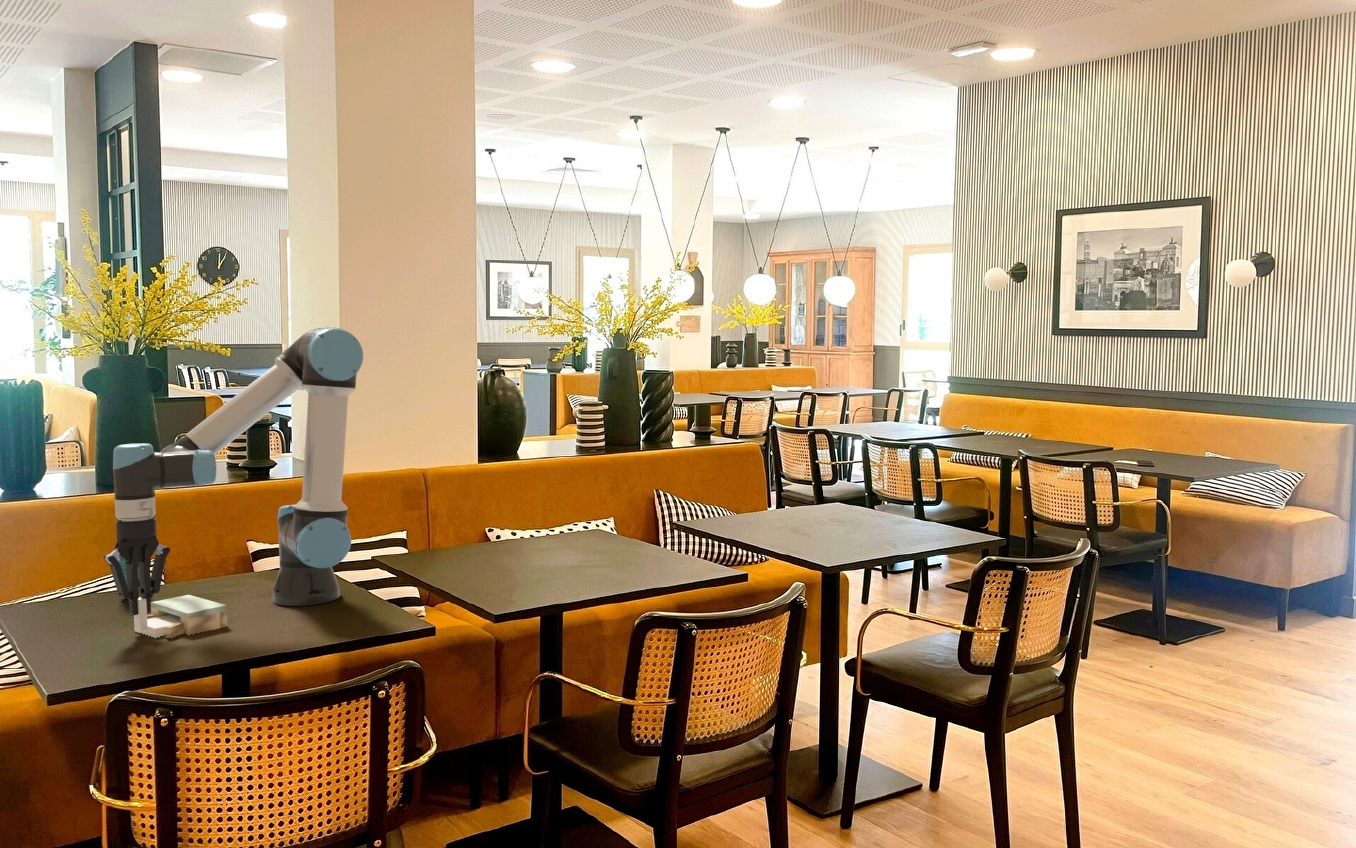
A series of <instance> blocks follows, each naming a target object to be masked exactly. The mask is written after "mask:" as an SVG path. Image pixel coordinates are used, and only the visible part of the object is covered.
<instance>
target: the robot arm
mask: <svg viewBox="0 0 1356 848" xmlns="http://www.w3.org/2000/svg"><path fill="white" fill-rule="evenodd" d="M363 362H364V351H363V348H362V345H361V342H360V341H359V340H358V339H357V338H356V336H355V335H353V334H352V333H351V332H349V331H348V330H345V329H342V328H340V327H336V326H334V327H327V326H326V327H319V328H313V329H311V330H308V331H306V332H305V333H303V334H302V335H301V336H300V337H299V338H297V340H295V341H294V342H293V343H292V344H291V345H290V346H289V347H287V348H286V349H285V350H284V351H283V352H282V353H280V354H279V355H277V357H275V359H274V365H273V366H271V367H270V368H269V369H267V371H265V372H263V374H262V373H261V375H260V376H259V377H258V378H256V379H255V380H254V381H252V382H251V383H249V384H248V385H247V386H246V387H245V388H243V389H242V390H240V391H239V392H238V393H237V394H236V395H234V396H233V397H232V398H230V399H229V400H228V401H227V402H225V403H224V404H222V406H220V407H218V408H217V410H215V411H214V412H212V414H210V415H209V416H208V417H206V418H205V419H204V420H202V421H201V422H200V423H198V424H197V425H196V426H194V428H192V429H190V431H189V432H187V433H186V434H185V435H183V436H182V437H181V438H180V439H178V440H177V441H176V442H173V444H169V445H167V446H166V447H164V448H163V449H162V450H161V451H160V452H158V451H157V452H156V451H155V450H154V447H153V445H152V444H151V443H126V444H119V445H116V446H115V447H114V449H113V453H112V454H113V455H112V473H113V476H112V477H113V491H114V492H113V493H114V509H115V510H114V515H115V516H114V517H116V519H117V520H116V521H115V537H116V543H115V546H114V550H112V552H110V553H108V554H105V555H104V556H103V559H104V561H105V562H106V563H107V564H108V566H109V569H110V572H111V576H112V579H113V581H114V585H115V588H116V590H117V591H116V592H117V595H118V597H119V598H122V599H126V600H128V607H129V608H128V612H129V614H130V615H131V616H133V625H134V626H133V628H134V630H135V629H137V630H140V631H142V630H146V629H148V625H147V615H148V613H151V602H152V601H151V599H152V598H153V597H154V595H155V594H159V592H160V590H161V585H162V580H163V574H164V570H165V565H166V559H167V557H168V555H169V553H170V551H171V548H170V547H169V546H165V545H162V544H161V543H159V539H158V537H157V533H158V532H157V531H158V530H157V519H156V518H155V517H154V516H155V515H156V514H157V510H156V492H155V491H156V489H164V488H176V487H177V488H178V487H193V486H195V487H196V486H197V487H200V486H203V485H211V484H214V483H215V482H216V479H217V461H216V459H217V458H216V455H217V454H218V453H220V452H221V451H222V450H223V449H224V448H226V447H228V445H230V443H232V442H233V441H234V440H236V439H237V438H238V437H240V436H241V435H242V434H243V433H244V432H246V431H247V430H248V429H250V428H251V427H252V426H253V425H255V423H257V422H259V420H261V419H262V418H263V417H265V416H266V415H267V414H269V413H270V412H271V411H273V409H275V408H276V407H278V405H280V404H281V403H283V401H285V400H287V398H289V397H290V396H291V395H292V394H294V393H295V392H297V391H298V390H299V391H306V392H307V394H308V396H307V397H308V399H307V409H306V410H307V413H306V425H305V426H306V428H305V442H304V443H305V445H304V457H303V458H304V460H303V461H304V462H303V472H302V473H303V474H302V491H301V498H300V500H299V501H298V502H297V503H296V504H288V505H282V506H280V507H279V508H278V511H277V518H276V520H277V521H276V522H277V526H278V553H279V554H278V556H279V559H278V560H279V571H278V574H277V578H276V581H275V583H274V587H273V590H272V591H273V592H272V602H273V603H274V604H276V605H278V606H279V605H280V606H285V607H287V606H288V607H300V606H314V605H320V604H326V603H329V602H332V601H333V602H334V601H335V600H337V599H339V598H340V597H341V593H340V591H341V590H340V589H341V588H340V585H339V583H338V582H339V581H338V580H337V577H336V574H335V572H334V569H333V567H334V566H336V565H338V564H339V563H341V562H342V561H343V560H344V559H345V558H346V557H347V555H348V554H349V552H350V549H351V546H352V536H351V531H350V529H349V528H348V512H349V511H348V510H349V508H348V506H347V505H346V503H344V502H343V500H342V498H343V497H342V496H343V495H342V494H343V481H344V463H345V449H346V448H345V447H346V434H347V422H348V421H347V419H348V406H349V405H348V404H349V396H350V394H351V393H353V392H354V391H356V386H357V375H358V372H359V371H360V369H361V367H362V366H363ZM154 554H155V555H154ZM119 555H120V556H121V557H122V558H123V559H124V560H125V566H126V572H127V584H126V581H125V577H124V574H123V571H122V568H121V565H120V563H119V560H120V558H119ZM153 555H154V559H153V562H152V556H153ZM151 564H152V569H151ZM138 567H139V581H140V594H139V588H138Z"/></svg>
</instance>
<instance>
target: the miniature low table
mask: <svg viewBox="0 0 1356 848" xmlns="http://www.w3.org/2000/svg"><path fill="white" fill-rule="evenodd" d="M150 602H151V611H150V613H149V614H147V619H151V618H155V617H160V616H165V615H170V614H173V615H176V616H180V617H181V622H179V623H176V624H173V625H170V626H167V627H165V630H166V636H165V639H167V638H171V639H173V637H174V638H177V637H179V636H178V635H180V636H182V635H181V634H183V635H186V634H187V636H192V635H196V634H195V633H197V634H200V632H201V633H204V632H205V631H206V632H209V630H210V631H214V630H219V629H222V628H226V627H228V613H227V611H228V610H227V609H228V608H227V607H228V606H227V605H226V604H224V603H220V602H216V601H212V600H209V599H205V598H202V597H198V596H195V595H191V594H185V595H182V596H175V597H171V598H166V599H160V600H156V601H150ZM206 632H205V633H206ZM184 633H185V634H184ZM191 634H192V635H191ZM176 636H177V637H176Z"/></svg>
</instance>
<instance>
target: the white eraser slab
mask: <svg viewBox="0 0 1356 848" xmlns="http://www.w3.org/2000/svg"><path fill="white" fill-rule="evenodd" d="M179 622H181V617H180V616H176V615H173V614H170V615H165V616H160V617H155V618H151V619H147V625H148V629H146V630H142V631H140V630H137V629H134V632H136V633H138V634H141V633H142V635H144V634H145V636H147V635H148V636H147V637H150V636H151V637H150V638H153V637H154V638H153V639H157V637H158V638H161V637H160V636H163V635H166V630H165V627H167V626H170V625H173V624H176V623H179ZM163 637H164V636H163Z"/></svg>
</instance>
